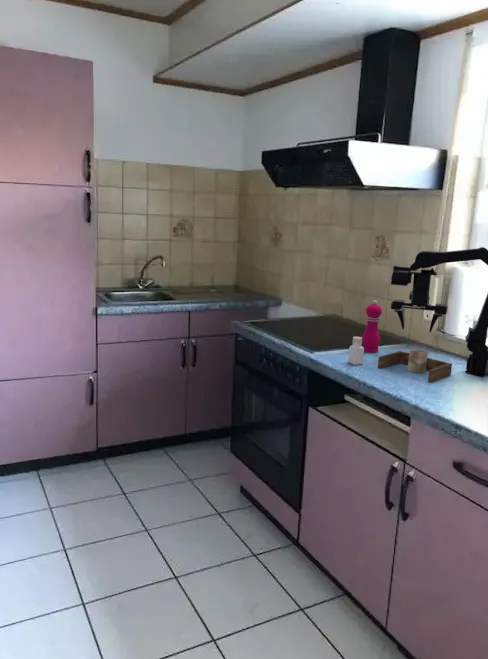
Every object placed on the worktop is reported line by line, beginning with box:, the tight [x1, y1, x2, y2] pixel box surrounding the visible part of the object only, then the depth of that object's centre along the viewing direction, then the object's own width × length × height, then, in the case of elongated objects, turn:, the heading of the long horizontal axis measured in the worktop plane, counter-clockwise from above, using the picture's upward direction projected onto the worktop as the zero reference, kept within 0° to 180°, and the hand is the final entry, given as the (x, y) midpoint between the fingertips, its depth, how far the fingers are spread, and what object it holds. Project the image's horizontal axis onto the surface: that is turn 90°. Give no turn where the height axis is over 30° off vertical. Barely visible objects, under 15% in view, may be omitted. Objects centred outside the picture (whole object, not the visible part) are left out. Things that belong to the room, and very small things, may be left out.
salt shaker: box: [348, 336, 365, 366], centre depth 197 cm, size 4×4×10 cm
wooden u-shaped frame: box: [377, 350, 453, 384], centre depth 192 cm, size 20×14×4 cm
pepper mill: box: [361, 299, 383, 354], centre depth 215 cm, size 7×7×20 cm
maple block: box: [407, 348, 429, 374], centre depth 193 cm, size 4×4×7 cm
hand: (416, 330), depth 197 cm, fingers open, 9 cm apart
